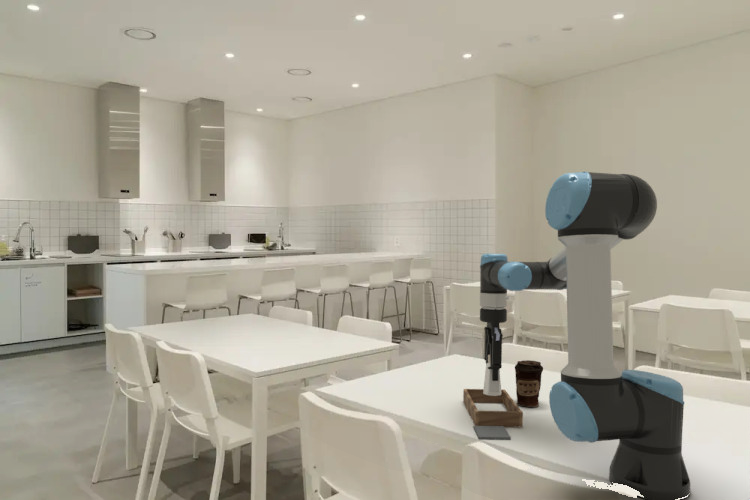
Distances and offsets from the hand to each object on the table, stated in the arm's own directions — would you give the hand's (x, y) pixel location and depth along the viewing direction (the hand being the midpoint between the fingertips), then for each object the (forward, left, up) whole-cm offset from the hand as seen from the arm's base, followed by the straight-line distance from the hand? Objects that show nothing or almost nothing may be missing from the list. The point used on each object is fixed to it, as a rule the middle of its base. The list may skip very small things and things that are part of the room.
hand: (492, 389), depth 160 cm
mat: (-15, +3, -7) cm, 17 cm away
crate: (+1, 0, -7) cm, 7 cm away
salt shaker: (0, 0, -1) cm, 1 cm away
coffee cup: (+10, -13, -7) cm, 18 cm away
